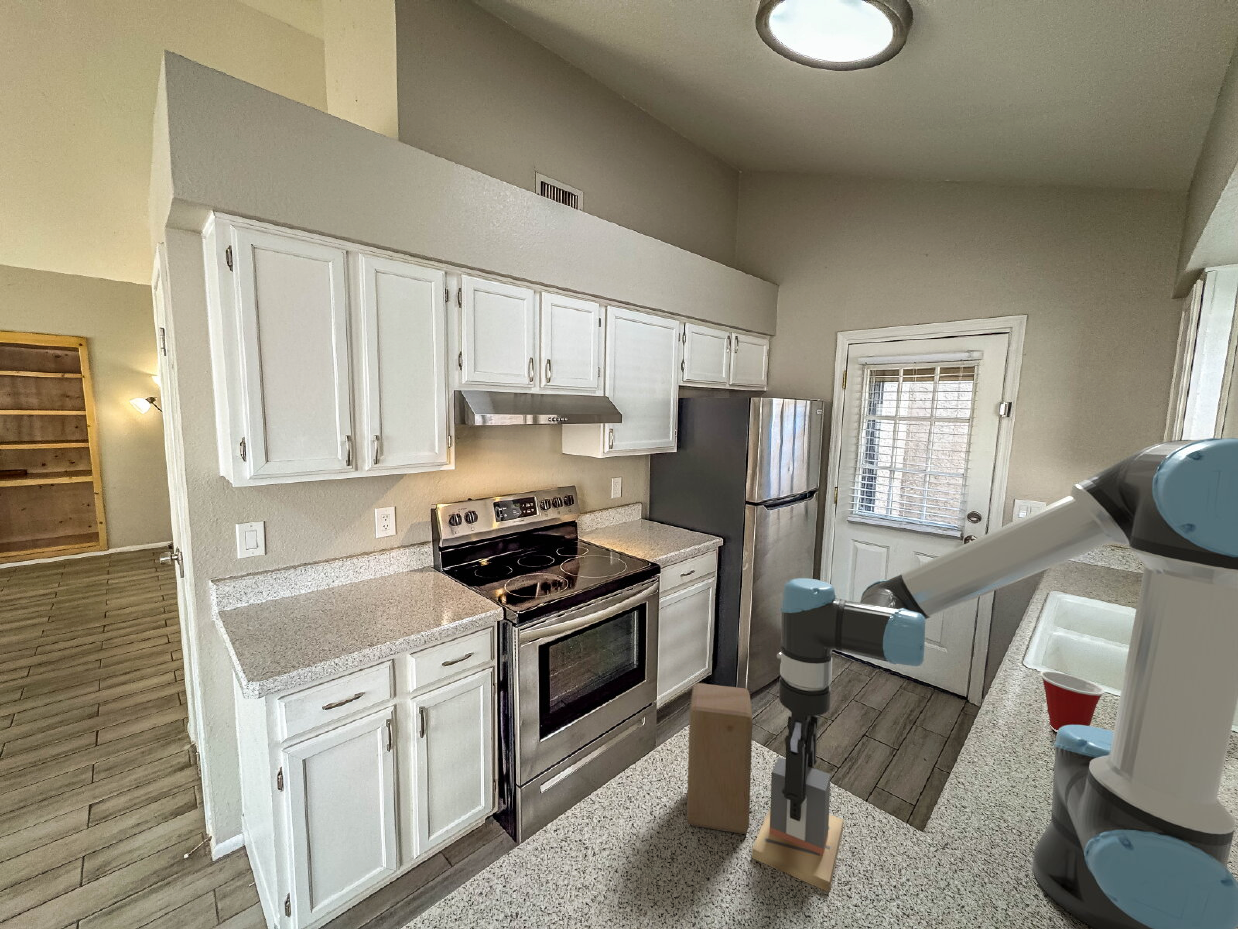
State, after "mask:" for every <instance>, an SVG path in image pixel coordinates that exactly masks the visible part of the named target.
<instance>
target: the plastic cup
mask: <svg viewBox="0 0 1238 929" xmlns="http://www.w3.org/2000/svg"><path fill="white" fill-rule="evenodd" d="M1039 673H1040V678H1041V679H1042V681H1043V686H1044V692H1045V699H1046V707H1047V714H1048V718H1049V725H1051V726H1052V727H1053V728H1054V729H1056V730H1059V729H1060V728H1061V727H1063V726H1066V725H1085V726H1091V723H1092V721H1093V720H1092V719H1093V717H1094V714H1095V710H1096V708H1097V704H1098V702H1099V701H1100V699H1101V697H1102V696H1103V695H1105V693H1106V691H1105V689H1104V688H1102V686H1100V685H1099V684H1098V685H1097V684H1095V683H1094V682H1091V681H1089V680H1086V679H1084V678H1081V677H1078V676H1074V675H1070V674H1067V673H1062V672H1057V671H1041V672H1039ZM1051 726H1050V727H1051Z"/></svg>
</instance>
